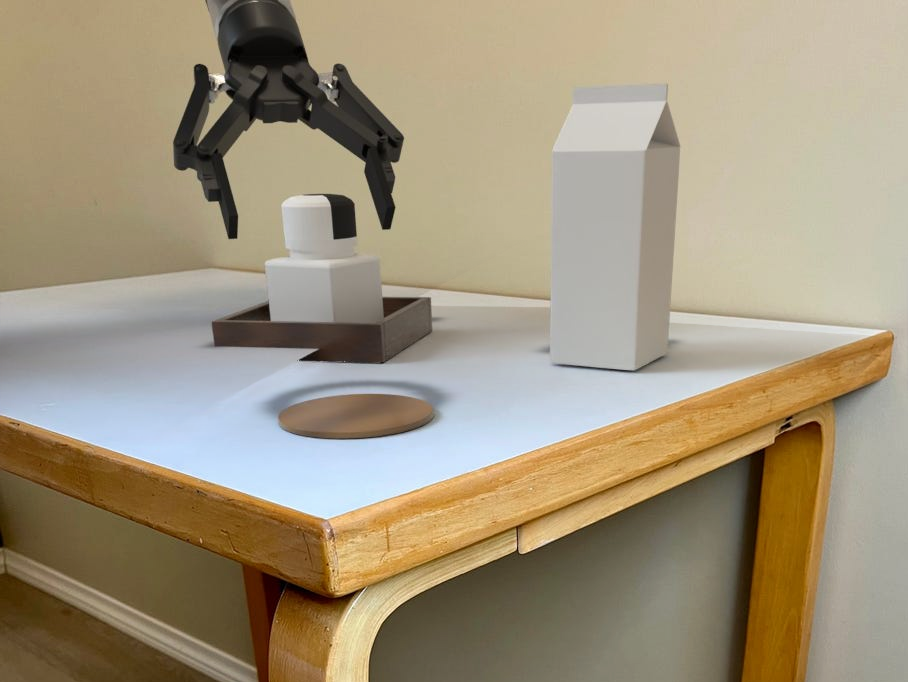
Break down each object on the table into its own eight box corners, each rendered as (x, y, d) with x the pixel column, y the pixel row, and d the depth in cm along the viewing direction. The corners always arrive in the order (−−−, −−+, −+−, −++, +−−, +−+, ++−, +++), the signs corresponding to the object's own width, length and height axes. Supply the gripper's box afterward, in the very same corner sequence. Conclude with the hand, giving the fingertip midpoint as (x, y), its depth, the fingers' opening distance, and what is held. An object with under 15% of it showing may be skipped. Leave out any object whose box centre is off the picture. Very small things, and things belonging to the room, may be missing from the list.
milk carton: (635, 373, 75) (649, 82, 66) (549, 365, 78) (552, 86, 70) (667, 355, 81) (684, 84, 72) (586, 349, 84) (593, 88, 75)
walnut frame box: (216, 358, 83) (210, 321, 82) (285, 328, 96) (282, 295, 95) (383, 363, 80) (380, 324, 79) (432, 331, 93) (431, 297, 92)
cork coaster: (252, 435, 62) (251, 428, 62) (313, 397, 71) (312, 391, 70) (408, 441, 60) (407, 435, 60) (450, 401, 68) (450, 396, 68)
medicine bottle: (322, 334, 93) (310, 191, 87) (386, 340, 89) (377, 192, 84) (272, 348, 87) (255, 196, 82) (338, 354, 84) (324, 197, 78)
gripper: (382, 68, 99) (440, 244, 94) (118, 70, 91) (165, 262, 86) (395, -2, 92) (458, 183, 87) (111, -7, 84) (161, 197, 79)
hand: (313, 223), depth 86 cm, fingers open, 13 cm apart
